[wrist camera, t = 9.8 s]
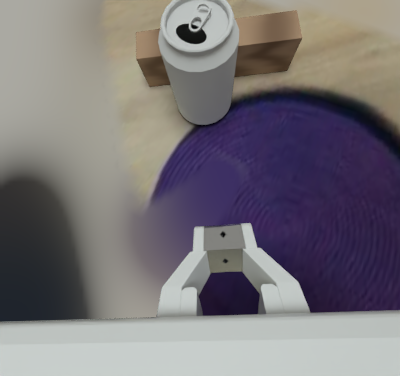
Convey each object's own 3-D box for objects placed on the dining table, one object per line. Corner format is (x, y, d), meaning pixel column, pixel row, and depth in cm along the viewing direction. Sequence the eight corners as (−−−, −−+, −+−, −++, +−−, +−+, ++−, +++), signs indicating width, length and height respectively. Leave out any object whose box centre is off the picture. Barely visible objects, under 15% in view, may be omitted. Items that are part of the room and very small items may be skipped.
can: (168, 113, 28) (135, 34, 16) (195, 72, 29) (182, -30, 17) (213, 137, 27) (212, 70, 15) (240, 93, 28) (258, -1, 16)
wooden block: (282, 46, 29) (296, 10, 24) (287, 70, 28) (302, 37, 23) (148, 63, 30) (136, 32, 25) (149, 86, 29) (136, 59, 24)
